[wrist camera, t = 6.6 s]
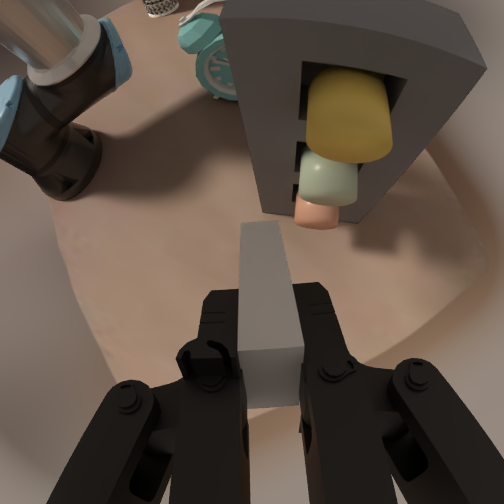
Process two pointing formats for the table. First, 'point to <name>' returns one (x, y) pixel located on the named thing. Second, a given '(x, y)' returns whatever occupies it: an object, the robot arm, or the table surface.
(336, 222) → the terracotta button
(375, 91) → the mustard button
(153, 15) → the leaning tower model
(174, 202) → the table surface
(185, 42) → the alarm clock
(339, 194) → the sage button
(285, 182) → the button panel
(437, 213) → the table surface
